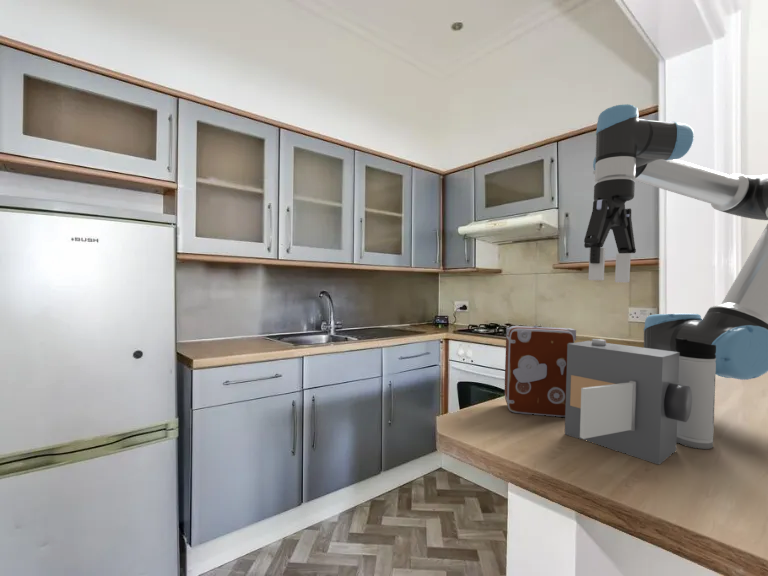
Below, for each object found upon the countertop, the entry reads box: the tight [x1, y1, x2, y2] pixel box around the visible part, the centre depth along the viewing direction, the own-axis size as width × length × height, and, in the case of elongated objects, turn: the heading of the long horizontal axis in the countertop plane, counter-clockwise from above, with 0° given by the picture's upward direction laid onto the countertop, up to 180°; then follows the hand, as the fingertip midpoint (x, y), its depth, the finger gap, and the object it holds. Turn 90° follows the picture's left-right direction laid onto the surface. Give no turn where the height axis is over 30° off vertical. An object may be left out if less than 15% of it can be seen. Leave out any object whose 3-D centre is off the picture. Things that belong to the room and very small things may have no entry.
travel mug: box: [675, 338, 716, 450], centre depth 75 cm, size 6×7×20 cm
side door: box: [580, 381, 636, 439], centre depth 65 cm, size 12×1×8 cm, turn 113°
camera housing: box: [564, 338, 692, 465], centre depth 73 cm, size 18×9×19 cm, turn 38°
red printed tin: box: [504, 325, 577, 418], centre depth 91 cm, size 9×19×20 cm, turn 78°
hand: (609, 281), depth 84 cm, fingers open, 13 cm apart
